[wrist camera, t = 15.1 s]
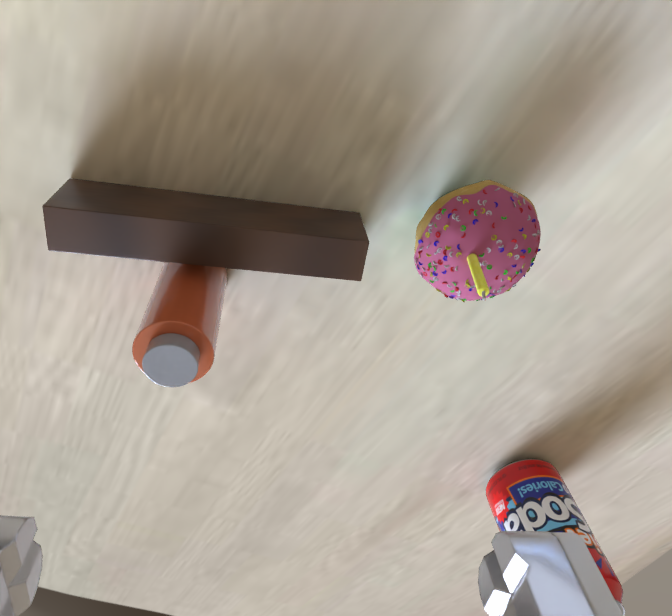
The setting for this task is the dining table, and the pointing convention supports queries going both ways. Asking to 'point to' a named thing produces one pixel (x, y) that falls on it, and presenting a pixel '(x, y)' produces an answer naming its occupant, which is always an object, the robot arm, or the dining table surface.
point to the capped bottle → (181, 324)
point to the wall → (204, 230)
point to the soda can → (543, 509)
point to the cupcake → (477, 241)
